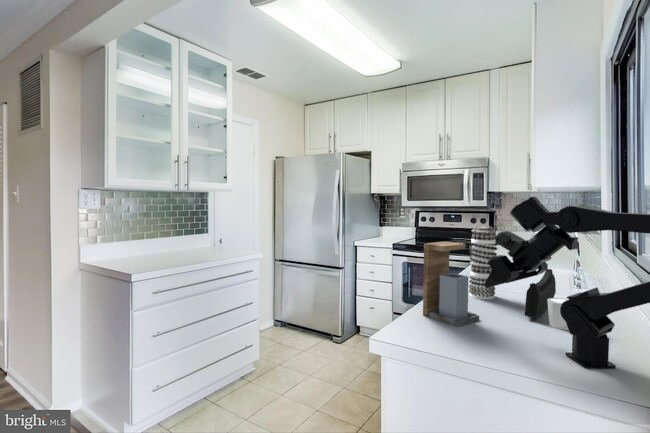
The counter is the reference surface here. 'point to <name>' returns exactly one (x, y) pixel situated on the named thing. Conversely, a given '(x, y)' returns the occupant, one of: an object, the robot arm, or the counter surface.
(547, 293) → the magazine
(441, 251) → the wooden c-shaped stand
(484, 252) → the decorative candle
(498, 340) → the counter surface
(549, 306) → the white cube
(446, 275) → the sleeve
